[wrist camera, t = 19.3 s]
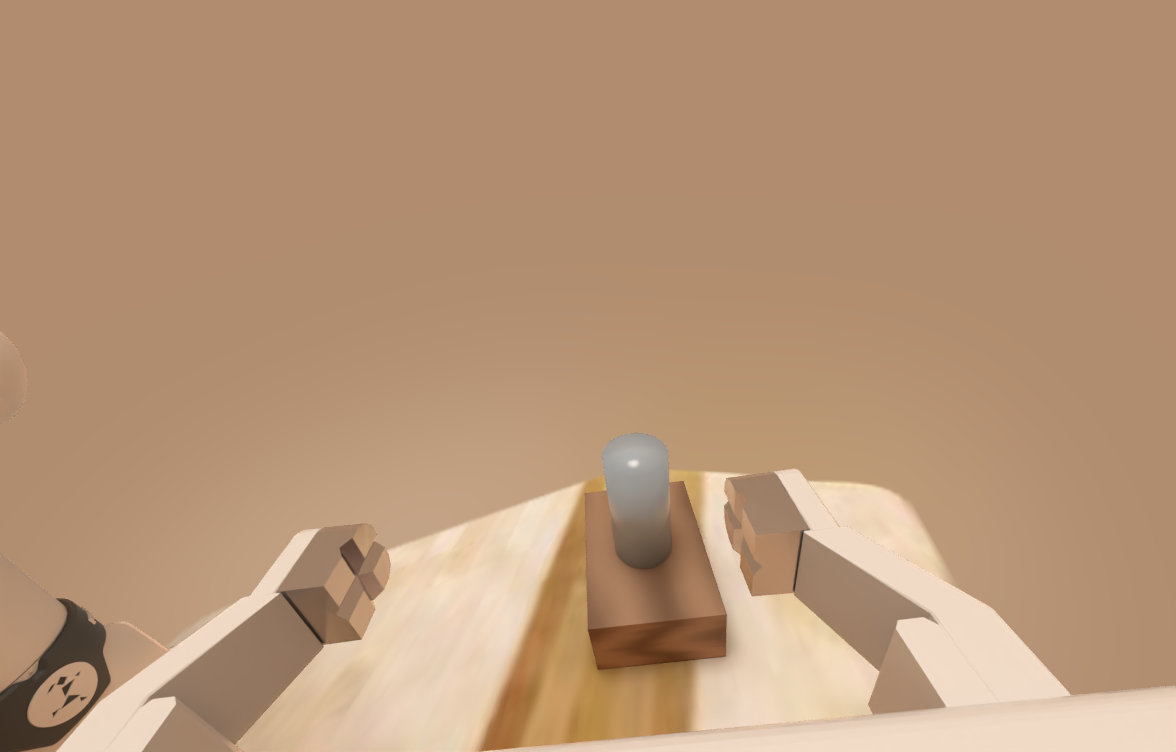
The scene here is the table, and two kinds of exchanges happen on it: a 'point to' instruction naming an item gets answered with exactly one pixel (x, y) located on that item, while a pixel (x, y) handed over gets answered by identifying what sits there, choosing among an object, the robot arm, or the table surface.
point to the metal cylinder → (639, 498)
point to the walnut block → (651, 594)
